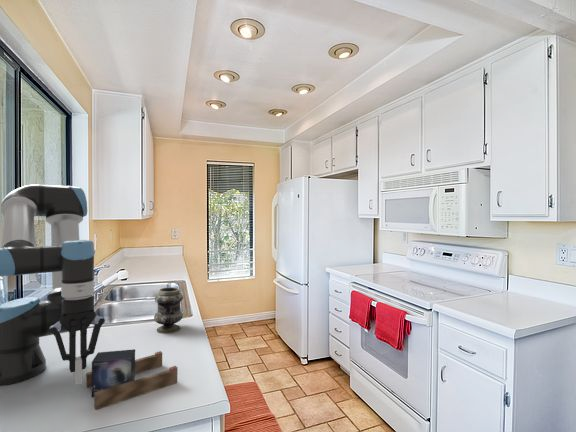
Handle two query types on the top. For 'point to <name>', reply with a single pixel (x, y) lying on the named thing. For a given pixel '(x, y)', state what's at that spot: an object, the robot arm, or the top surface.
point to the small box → (112, 369)
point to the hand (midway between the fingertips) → (77, 381)
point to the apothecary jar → (168, 309)
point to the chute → (135, 382)
